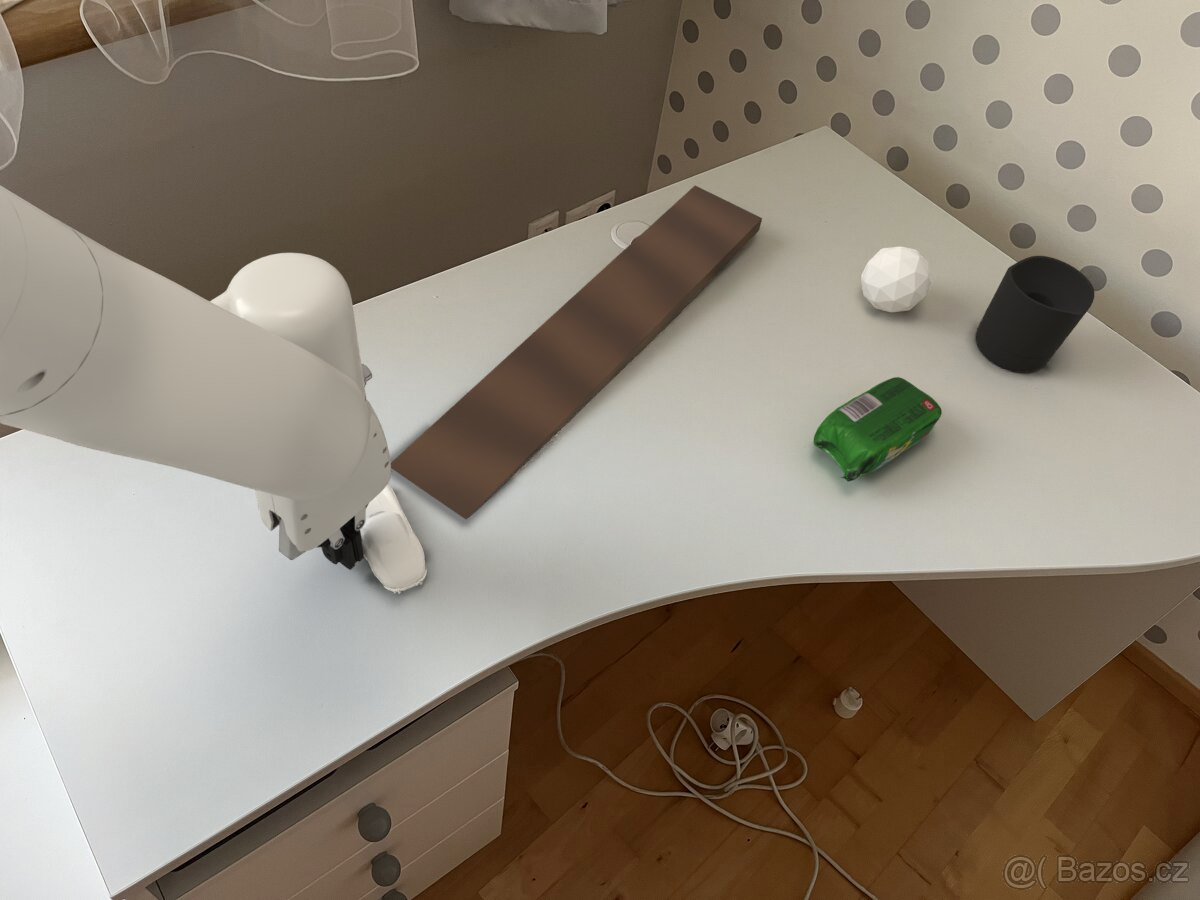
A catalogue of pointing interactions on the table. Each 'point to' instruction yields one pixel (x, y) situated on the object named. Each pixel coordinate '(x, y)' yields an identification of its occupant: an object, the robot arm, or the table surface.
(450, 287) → the table surface
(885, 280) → the geometric ball
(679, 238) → the ramp
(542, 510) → the table surface
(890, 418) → the snack package
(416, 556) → the toy car
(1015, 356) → the pen holder
